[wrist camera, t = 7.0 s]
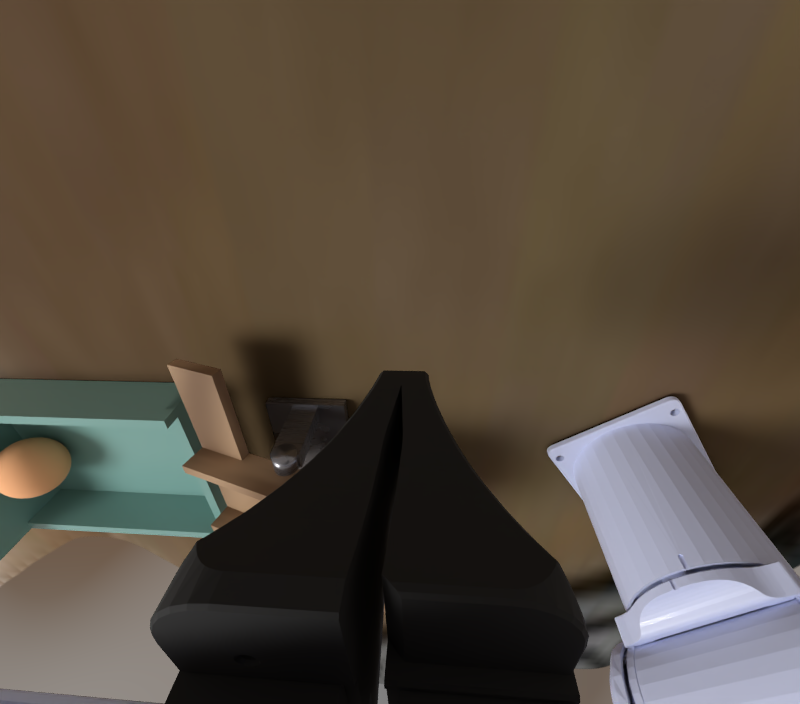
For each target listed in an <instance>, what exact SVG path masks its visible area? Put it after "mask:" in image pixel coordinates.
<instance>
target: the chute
mask: <svg viewBox="0 0 800 704" xmlns="http://www.w3.org/2000/svg"><path fill="white" fill-rule="evenodd" d="M167 366H168V368H169V371H170V373H171V375H172V378H173V380H174V382H175V385H176V387H177V389H178V392H179V394H180V396H181V399H182V401H183V403H184V406H185V408H186V410H187V413H188V415H189V418H190V420H191V422H192V425H193V427H194V429H195V432H196V434H197V436H198V439H199V441H200V443H201V446H202V448H201V449H200V450H199V451H198V452H197V453H196V454H194V455H193V456H192V457H191V458H190V459H189V460H188V461H187V462H186V463H185V464H183V465H182V467H183V469H184V471H185V473H187V474H190V475H192V476H195V477H198V478H201V479H203V480H206V481H209V482H211V483H214V484H217V485H219V488H220V490H221V493H222V495H223V497H224V500H225V502H226V504H227V507H226V508H225V509H224V510H223V512H222V513H221V514H220V515H219V516H218V517H217V518H216V520H215V521H214V522H213V523H212V524H211V527H212V529H213V531H215V530H217V529H219V528H220V527H222V526H223V525H225V524H227V523H228V522H230V521H231V520H233V519H235V518H236V517H238V516H240V515H241V514H243V513H244V512H246V511H247V510H249V509H250V508H252V507H253V506H254V505H256V504H257V503H258V502H260V501H261V500H263V499H264V498H265V497H267V496H268V495H269V494H271V493H272V492H273V491H275V490H276V489H277V488H279V487H280V486H281V485H283V484H284V483H285V482H286V481H288V480H289V479H290V478H291V477H292V476H294V475H295V474H296V473H297V472H298V471H299V470H300V469H298V470H297V471H296V472H295V473H293V474H291V475H289V476H279V475H277V474H276V473H275V471H274V468H273V464H272V461H271V460H269V459H266V458H263V457H259V456H256V455H253V454H250V453H249V452H248V449H247V446H246V443H245V440H244V437H243V434H242V431H241V428H240V425H239V422H238V419H237V416H236V413H235V410H234V407H233V404H232V401H231V398H230V395H229V393H228V390H227V387H226V384H225V381H224V378H223V375H222V372H221V369H217V368H213V367H209V366H205V365H201V364H196V363H192V362H188V361H184V360H180V359H175V360H174V361H172V362H171V363H169V364H167ZM384 613H385V603H384ZM385 614H386V613H385Z"/></svg>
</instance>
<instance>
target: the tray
mask: <svg viewBox="0 0 800 704" xmlns="http://www.w3.org/2000/svg"><path fill="white" fill-rule="evenodd" d="M34 437H44V438H50V439H53V440H56V441H58V442H60V443H61V444H63V445H64V446H65V447H66V448H67V449H68V451H69V453H70V456H71V468H70V471H69V473H68V475H67V477H66V478H65V479H64V481H63V482H62V483H61V484H60V485H58V486H57V487H56V488H55V489H53V490H51V491H50V492H48V493H45V494H43V495H40V496H37V497H33V498H23V499H20V498H12V497H8V496H6V495H4V494H2V493H0V560H1V559H2V558H3V557H4V556H5V555H6V554H7V553H8V552H9V551H10V550H11V549H12V548H13V547H14V546H15V545H16V544H17V543H18V542H19V541H20V539H21V538H22V537H23V536H24V535H25V534H26V533H27V532H28V531H29V530H30V529H31V528H41V529H58V530H76V531H94V532H112V533H130V534H148V535H166V536H184V537H202V538H204V537H205V536H207V535H209V534H210V533H212V532H214V531H213V529H212V527H211V524H212V523H213V522H214V521H215V520H216V518H217V517H218V516H219V515H220V514H221V513H222V512H223V510H224V509H225V508H226V507H227V504H226V502H225V500H224V497H223V495H222V493H221V490H220V488H219V485H217V484H214V483H211V482H209V481H206V480H203V479H201V478H198V477H195V476H192V475H190V474H187V473H185V471H184V469H183V467H182V465H183V464H185V463H186V462H187V461H188V460H189V459H190V458H191V457H192V456H193V455H194V454H196V453H197V452H198V451H199V450H200V449H201V448H202V446H201V443H200V441H199V439H198V436H197V434H196V432H195V429H194V427H193V425H192V422H191V420H190V418H189V415H188V413H187V410H186V408H185V406H184V403H183V401H182V399H181V396H180V394H179V392H178V389H177V387H176V385H175V383H162V382H119V381H76V380H33V379H0V452H1V451H2V450H4V449H5V448H6V447H8V446H9V445H11V444H13V443H15V442H17V441H20V440H23V439H27V438H34Z"/></svg>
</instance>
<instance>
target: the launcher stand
mask: <svg viewBox="0 0 800 704" xmlns="http://www.w3.org/2000/svg"><path fill="white" fill-rule="evenodd" d="M265 404H266V407H267V411H268V415H269V418H270V422H271V425H272V429H273V433H274V436H275V440H276V442H275V444H274V446H273V448H272V450H271V452H270V457H271V461H272V464H273V468H274V471H275V473H276V474H277V475H279V476H289V475H291V474H293V473H295V472H296V471H297V470H298V469H302V468H303V467H304V466H305V465H306V464H307V463H308V462H309V461H311V460H312V459H313V458H314V457H315V456H316V455H317V454H318V453H319V452H320V451H321V450H322V449H323V448H324V447H325V446H326V445H327V444H328V443H329V442H330V441H331V440H332V438H333V437H334V436H335V435H336V434H337V433H338V432H339V430H340V429H341V428H342V427H343V426H344V425H345V423H346V422H347V421H348V412H347V405H346V399H308V398H268V400H267V402H266V403H265Z"/></svg>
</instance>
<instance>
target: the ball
mask: <svg viewBox="0 0 800 704" xmlns="http://www.w3.org/2000/svg"><path fill="white" fill-rule="evenodd" d="M70 468H71V456H70V453H69V451H68V449H67V448H66V447H65V446H64V445H63V444H61V443H60V442H58V441H56V440H53V439H50V438H44V437H34V438H27V439H23V440H20V441H17V442H15V443H13V444H11V445H9V446H8V447H6V448H5V449H4V450H2V451H1V452H0V493H2V494H4V495H6V496H8V497H12V498H20V499H23V498H33V497H37V496H40V495H43V494H45V493H48V492H50V491H51V490H53V489H55V488H56V487H57V486H58V485H60V484H61V483H62V482H63V481H64V479H65V478H66V477H67V475H68V473H69V471H70Z"/></svg>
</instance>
